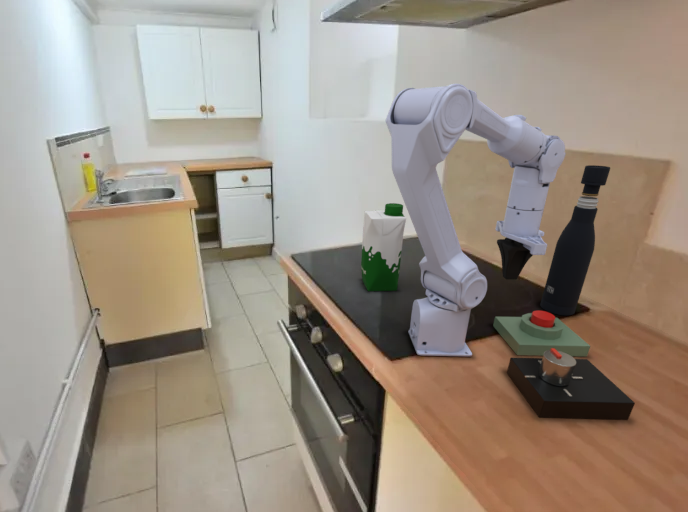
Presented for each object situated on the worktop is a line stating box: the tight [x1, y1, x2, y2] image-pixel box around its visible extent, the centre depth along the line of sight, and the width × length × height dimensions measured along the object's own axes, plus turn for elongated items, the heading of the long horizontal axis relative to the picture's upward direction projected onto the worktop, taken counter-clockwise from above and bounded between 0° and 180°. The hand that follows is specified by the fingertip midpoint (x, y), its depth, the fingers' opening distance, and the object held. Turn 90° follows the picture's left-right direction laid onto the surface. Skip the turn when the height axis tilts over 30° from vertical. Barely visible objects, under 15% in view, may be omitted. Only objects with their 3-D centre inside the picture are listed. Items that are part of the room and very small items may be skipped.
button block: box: [492, 312, 591, 358], centre depth 70 cm, size 12×10×4 cm
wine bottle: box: [539, 164, 611, 316], centre depth 77 cm, size 6×6×30 cm
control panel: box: [506, 357, 636, 421], centre depth 56 cm, size 12×10×3 cm
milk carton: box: [360, 202, 407, 292], centre depth 90 cm, size 9×9×20 cm
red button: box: [530, 310, 556, 328], centre depth 69 cm, size 4×4×2 cm
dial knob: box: [538, 348, 576, 386], centre depth 55 cm, size 4×4×4 cm
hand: (509, 278), depth 72 cm, fingers closed
